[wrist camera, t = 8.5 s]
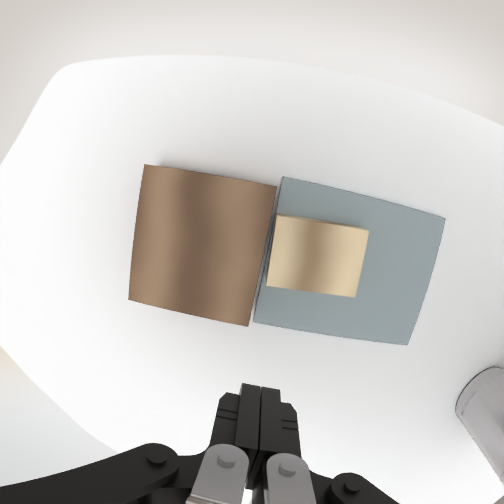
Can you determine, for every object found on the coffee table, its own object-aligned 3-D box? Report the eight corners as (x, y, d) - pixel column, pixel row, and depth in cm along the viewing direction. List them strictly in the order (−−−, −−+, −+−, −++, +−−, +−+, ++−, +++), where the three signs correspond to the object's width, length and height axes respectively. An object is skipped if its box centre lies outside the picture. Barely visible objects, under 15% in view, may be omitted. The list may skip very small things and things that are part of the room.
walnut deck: (275, 186, 29) (276, 186, 25) (250, 309, 31) (248, 326, 27) (159, 166, 29) (144, 164, 25) (143, 286, 31) (128, 299, 27)
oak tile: (360, 227, 29) (369, 230, 26) (348, 288, 30) (355, 297, 27) (275, 213, 29) (276, 215, 26) (266, 277, 30) (265, 285, 28)
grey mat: (442, 217, 29) (445, 218, 28) (405, 342, 32) (407, 345, 31) (282, 176, 29) (283, 176, 28) (253, 319, 32) (253, 322, 31)
